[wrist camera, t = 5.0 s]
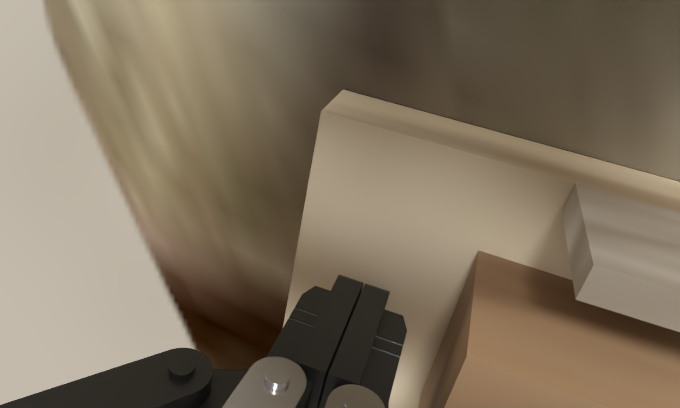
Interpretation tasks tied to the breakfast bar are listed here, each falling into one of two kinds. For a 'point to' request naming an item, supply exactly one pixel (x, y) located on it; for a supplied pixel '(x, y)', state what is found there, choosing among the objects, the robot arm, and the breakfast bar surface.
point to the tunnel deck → (475, 221)
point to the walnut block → (547, 348)
